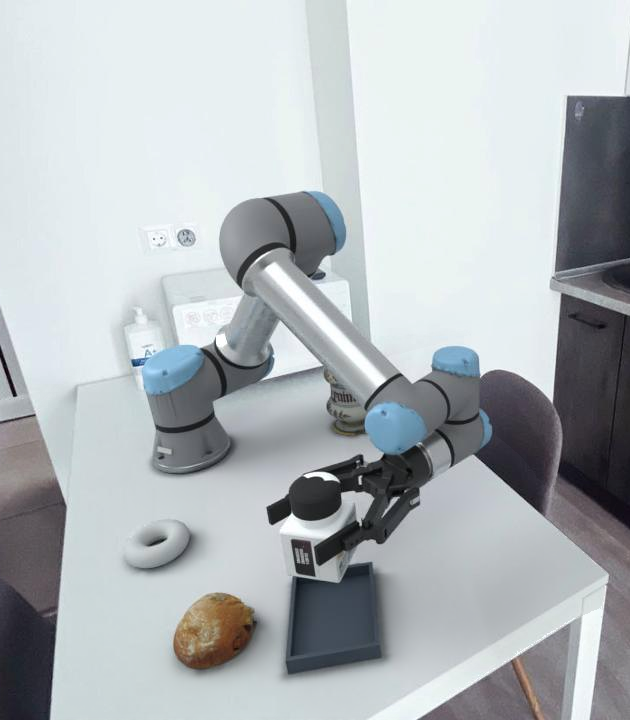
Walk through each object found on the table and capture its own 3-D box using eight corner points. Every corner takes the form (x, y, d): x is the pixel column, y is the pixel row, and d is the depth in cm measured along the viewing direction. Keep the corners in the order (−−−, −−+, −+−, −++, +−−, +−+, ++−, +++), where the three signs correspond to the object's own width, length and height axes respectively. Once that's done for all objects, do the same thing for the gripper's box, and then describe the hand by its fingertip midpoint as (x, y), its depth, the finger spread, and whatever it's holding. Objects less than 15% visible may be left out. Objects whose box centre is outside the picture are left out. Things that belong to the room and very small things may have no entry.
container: (339, 584, 72) (330, 505, 66) (285, 576, 73) (271, 497, 68) (360, 543, 78) (352, 468, 73) (310, 536, 80) (299, 462, 75)
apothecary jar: (338, 443, 122) (330, 370, 114) (322, 420, 131) (314, 351, 124) (388, 429, 127) (383, 359, 120) (369, 408, 137) (363, 341, 129)
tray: (294, 585, 85) (292, 573, 84) (373, 573, 87) (372, 561, 86) (287, 674, 71) (285, 661, 70) (381, 657, 73) (380, 644, 72)
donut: (175, 573, 87) (201, 529, 96) (170, 557, 86) (197, 514, 95) (113, 573, 87) (145, 529, 97) (107, 557, 86) (140, 514, 95)
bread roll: (210, 627, 82) (176, 594, 79) (269, 601, 81) (237, 566, 78) (187, 690, 73) (148, 655, 70) (252, 662, 72) (216, 625, 69)
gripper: (470, 513, 79) (349, 605, 64) (369, 454, 94) (251, 518, 79) (470, 470, 76) (343, 556, 61) (366, 416, 91) (242, 476, 76)
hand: (291, 535), depth 70 cm, fingers closed on container, 10 cm apart
